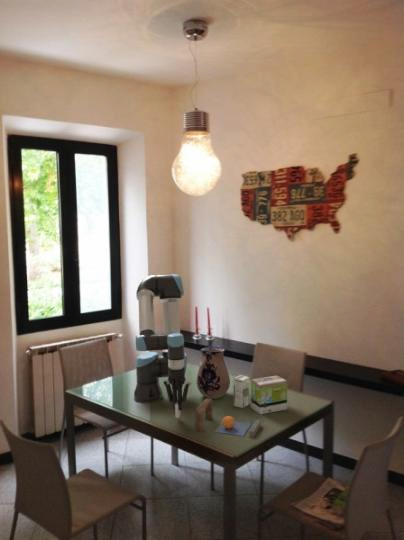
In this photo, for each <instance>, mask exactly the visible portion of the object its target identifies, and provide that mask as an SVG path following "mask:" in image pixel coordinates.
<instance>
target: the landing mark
mask: <svg viewBox="0 0 404 540" xmlns="http://www.w3.org/2000/svg"><path fill="white" fill-rule="evenodd" d="M234 421H235V420H234ZM250 427H252V422H251V423H249V422H242V421H235V424H234V426H233V427H232V428H231V429H226V428H225V427H224V426H223V424H222V422H221V424H219V426H218V427H217V428H216V430H215V431H214V433H218V434H225V435H232V436H239V437H244V436H245V435H246V433H247V432H248V430H250V429H249V428H250Z"/></svg>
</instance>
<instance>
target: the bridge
mask: <svg viewBox="0 0 404 540" xmlns="http://www.w3.org/2000/svg"><path fill="white" fill-rule="evenodd" d="M213 411H214V409H213V399H212V398H205V399H204V400H203V401H202V402H201V403H200V404H199V405H198V406H197V407H196V408H195V409H194V429H195V431H198V430H201V431H200V432H202V431H203V430H204V419H205V420H211V421H212V420H213V418H214V416H213ZM203 412H204V413H203ZM203 414H204V415H203ZM204 417H205V418H204ZM202 429H203V430H202Z"/></svg>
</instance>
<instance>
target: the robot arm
mask: <svg viewBox="0 0 404 540" xmlns="http://www.w3.org/2000/svg"><path fill="white" fill-rule="evenodd" d="M135 294H136V295H135V296H136V297H135V298H136V300H137V301H138V327H139V328H138V329H139V330H138V331H139V333H138V334H137V335H136V336H135V349H136V351H138V352H143V353H141V354H138V356H137V357H136V358H135V367H136V369H135V371H136V385H135V389H134V392H133V399H134V400H135V401H136V400H137V401H136V402H139V401H140V402H139V403H153V401H154V402H158V401H159V400H161V399H163V397H164V394H163V390H162V387H161V384H160V378H167V379H166V380H164V381H163V384H164V386H165V389H166V393H167V397H168V401H169V402H170V403H171V402H172V405H173V407H172V408H173V410H174V412H175V415H174V416H175V418H178V419H179V418H180V417H181V412H182V410H183V404H185V402H186V401H187V397H188V392H189V387H190V386H191V382H189V381H187V379H186V377H185V375H186V372H187V365H188V361H187V360H188V355H187V353H185V339H184V338H185V337H184V334H183V333H181V329H180V327H181V325H180V323H181V322H180V305H179V302H180V301H181V300H182V297H183V296H184V286H183V281H182V277H181V276H180V274H175V273H169V274H157V275H156V274H151V275H148V276H146V277H145V278H144V279H142V280H141V282H140V283H139V285H138V286H137V290H136V292H135ZM155 297H156V298H159V301H160V302H161V303H162V318H163V333H157V334H156V330H155V329H156V328H155V327H156V326H155V310H154V300H155ZM157 351H161V354H158V352H157ZM183 386H184V388H183ZM157 400H158V401H157Z"/></svg>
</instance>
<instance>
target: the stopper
mask: <svg viewBox="0 0 404 540" xmlns="http://www.w3.org/2000/svg"><path fill="white" fill-rule="evenodd" d="M261 426H262V421H261V420H260V419H256V420H255V422H254V423H253V424H252V425H251V428H250V429H249V432H248V436H249V437H250V438H254V437H256V435H257V433H258V431H259V429H261Z"/></svg>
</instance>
